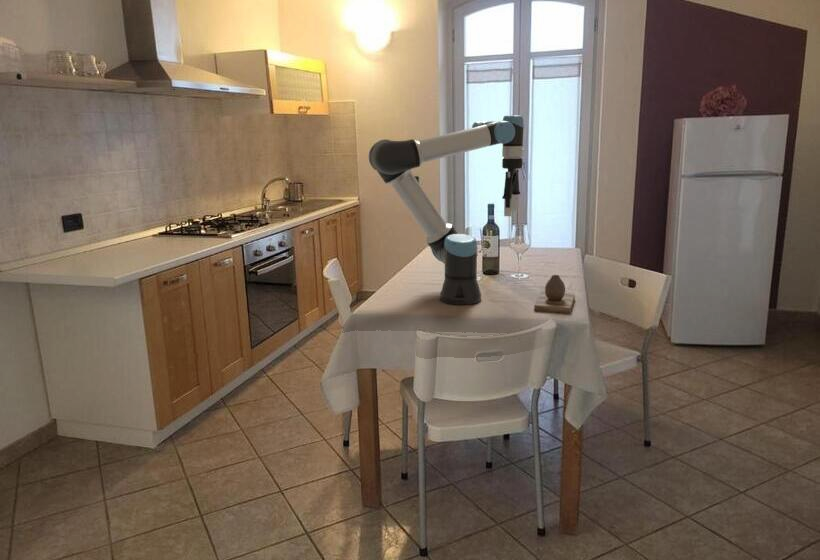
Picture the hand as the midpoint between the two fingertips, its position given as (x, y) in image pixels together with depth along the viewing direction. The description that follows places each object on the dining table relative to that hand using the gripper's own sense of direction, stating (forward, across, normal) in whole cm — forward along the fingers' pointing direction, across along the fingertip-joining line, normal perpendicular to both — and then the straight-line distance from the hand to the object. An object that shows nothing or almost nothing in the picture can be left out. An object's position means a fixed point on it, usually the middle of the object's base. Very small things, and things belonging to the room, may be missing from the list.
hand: (511, 213), depth 238 cm
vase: (+27, -22, -20) cm, 40 cm away
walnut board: (+29, -22, -20) cm, 41 cm away
